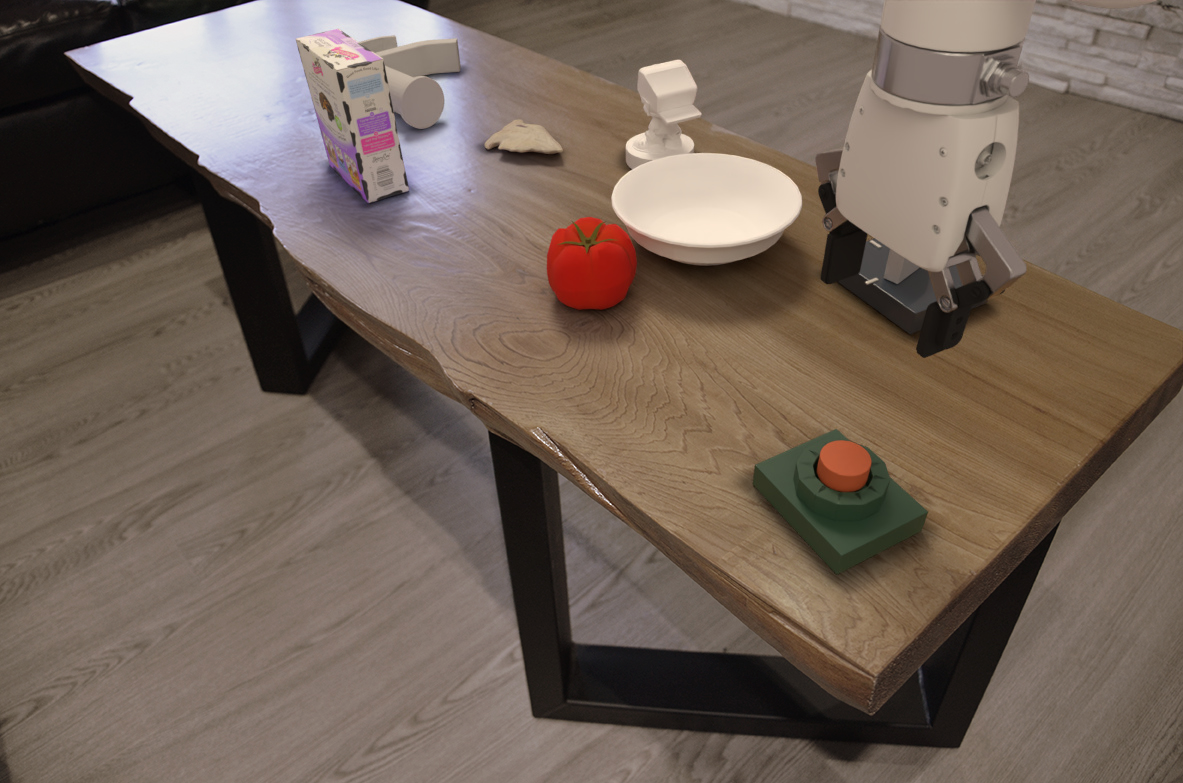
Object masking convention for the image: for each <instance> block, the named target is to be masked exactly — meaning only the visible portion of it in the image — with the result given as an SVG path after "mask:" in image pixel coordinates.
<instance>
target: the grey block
mask: <svg viewBox="0 0 1183 783" xmlns="http://www.w3.org/2000/svg"><path fill="white" fill-rule="evenodd" d="M919 268H920V267H919V266H917V265H915V264H914V263H912V262H910V261H909V260H907V259H906V258H904V257H902V256H901V255H899V254H898V253H896V252H895V251H893V250H892V249H890V252H889V256H888V261H887V265H886V269H885V274H884V278H885V279H887V280H889V281H891V282H894V283H896V284H899V283H900V282H901V281H903V280H904V279H905V278H907V277H908V276H909V275H911V274H912V273H913V272H915V271H916V270H917V269H919Z"/></svg>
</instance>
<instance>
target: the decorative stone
mask: <svg viewBox="0 0 1183 783" xmlns="http://www.w3.org/2000/svg"><path fill="white" fill-rule="evenodd" d="M484 148H485V149H487V150H492V149H493V148H497V149H498V150H506V151H509V152H512V153H513V152H517V153H528V152H529V153H530V152H532V153H533V152H534V153H541V154H546V155H554V154H558V153H563V152H564V150H563V147H562V145H561V144H560V143H559V142H558V141H557V140H555V138H554V137H553V136H552V135H551V134H550V133H549V132H548V130H547V129H545V127H544V126H542V125H540V124H535V123H533V124H532V123H531V124H530V123H525V121H523V120H522V119H513V120H512V121H511V122H509V123H508V124H506V125H504V126H503V128H502V129H501V130H499V131H497V132H494V133H493V134H492V135H491V136H490V137H489V138H488V139H487V140H486V141H485V142H484Z"/></svg>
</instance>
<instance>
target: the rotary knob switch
mask: <svg viewBox="0 0 1183 783" xmlns="http://www.w3.org/2000/svg"><path fill="white" fill-rule="evenodd" d="M889 252H890V248H889V247H887V246H885V245H884V244H882V243H881V242H879V241H878V240H876V239H875V238H871V239H867V240H866V245H865V250H864V255H863V259H862V264H861V269H860V272H859V273H858V274H857V275H854V276H851V277H848V278H846V279H843V280H840V281H837V282H836V283H838V284H840V285H841V286H842V287H844V288H845V289H846V290H848V291H849V292H851V293H852V294H854V296H856V297H858V298H859V299H861V301H862V302H864V303H866V304H867V305H869V306H870V307H871V308H873V309H874V310H875V311H877V312H878V313H879V314H881V315H882V316H884V317H885V318H887V319H888V320H889V321H890V322H892V323H894V324H895V325H896V326H898V327H899V328H900V329H901V330H903V331H904V332H905V333H907V334H909V335H913V334H915V333H918V332H921V328H922V324H923V321H924V317H925V313H926V310H927V307H928V305H929V304H931V303H933V302H936V301H937V299H936V296H935V293H934V289H933V286H932V283H931V280H930V276H929V273H928V270H925V269H923V268H919V269H917V270H916V271H915V272H913V273H912V274H911V275H909V276H908V277H907V278H905V279H904V280H903V281H901V282H900V283H899V284H896V283H894V282H891V281H889V280H887V279H885V278H884V274H885V269H886V265H887V261H888V256H889ZM949 270H950V273H951V276H952V279H953V283H954V286H955V289H956V288H958V287H961V286H962V283H961V279H960V276H959V273H958V270H957V266H956V265H955V266H952V267H949ZM981 275H982V276H983V275H984V274H981ZM988 300H989V299H987V300H985V301H982V302H979V303H976V304H973V305H972V308H971V310H974V309H975V308H978V307H981V306H983V305H986V304H987V303H988Z"/></svg>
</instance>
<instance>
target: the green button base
mask: <svg viewBox="0 0 1183 783" xmlns="http://www.w3.org/2000/svg"><path fill="white" fill-rule="evenodd" d="M840 440H843V441H850V442H853V443H856V444H858V445H860V446H862V447H863V448H864V449H865V450H866V451H867V452H868V453H869V455H870V457H871V467H870V471H869V475H868V479H867V482H866V484H865V485H864V486H863V487H862V488H861V489H859V490H857V491H853V492H840V491H836V490H833V489H831V488H829V487H827V486H826V485H824V484H823V483H822V482H821V480H820V479H819V477H818V474H817V466H818V461H819V456H820V452H821V450H822V448H823V447H824V446H825V445H826V444H828V443H830V442H833V441H840ZM751 484H752V485H753V487H755V488H756V489H757V491H758V492H759V493H760V494H761V495H762V496H763V497H764V498H765V499H766V500H767V501H768V502H769V504H770V505H771V506H772V507H773V508H774V509H775V510H776V512H778V513H779V514H780V516H781V517H782V518H783V519H784V520H785V521H786V522H787V523H788V524H789V525H790V526H791V527H792V529H793V530H794V531H795V532H796V533H797V534H798V535H799V536H800V537H801V538H802V540H804V541H805V542H806V544H808V546H809V547H810V548H811V549H812V550H813V551H814V553H816V554H817V555H818V557H819V558H820V559H821V560H822V561H823V562H824V563H825V564H826V565H827V566H828V567H829V569H831V571H833V573H834V574H835V575H839V574H841V573H843V572H845V571H847V570H849V569H851V568H853V567H854V566H857V565H859V564H861V563H863V562H864V561H866V560H869V559H871V558H872V557H875V556H876V555H878V554H880V553H882V552H884V551H885V550H888V549H890V548H892V547H894V546H896V545H898V544H899V543H901V542H904V541H906V540H907V539H910V538H911V537H913V536H915V535H917V534H918V533H920V532H922V531H923V527H924V525H925V523H926V520H927V517H928V514H929V510H927V509H926V508H925V507H924V506H923V505H922V504H921V503H919V502H918V501H917V500H916V499H915V498H914V497H913V496H912V495H911V494H910V493H909V492H908V491H906V490H905V489H904V488H902V486H900V485H899V483H897V482H896V481H895V480H894V479H893V478H892V477H891V476H890V474H889V471H888V467H887V464H886V462H885V461H884V460H883V459H882V458H880V457H879V456H878V454H876V453H875V452H874V451H873V450H872V449H870V448H869V446H868V447H867V446H865V445H862V444H859V443H857V442H855V441H851V440H849V438H848V437H846V435H844V434H843V433H842V432H841V431H840V430H839V429H838V428H834V429H833V430H830V431H828V432H825V433H823V434H821V435H818V436H817V437H814V438H812V439H810V440H808V441H806V442H802V443H801V444H799V445H797V446H794V447H792V448H789V449H787V450H784V451H783V452H780V453H778V454H776V455H774V456H771V457H769V458H767V459H764V460H763V461H759V462H758V463H756V464H754V469H753V476H752V483H751Z"/></svg>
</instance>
